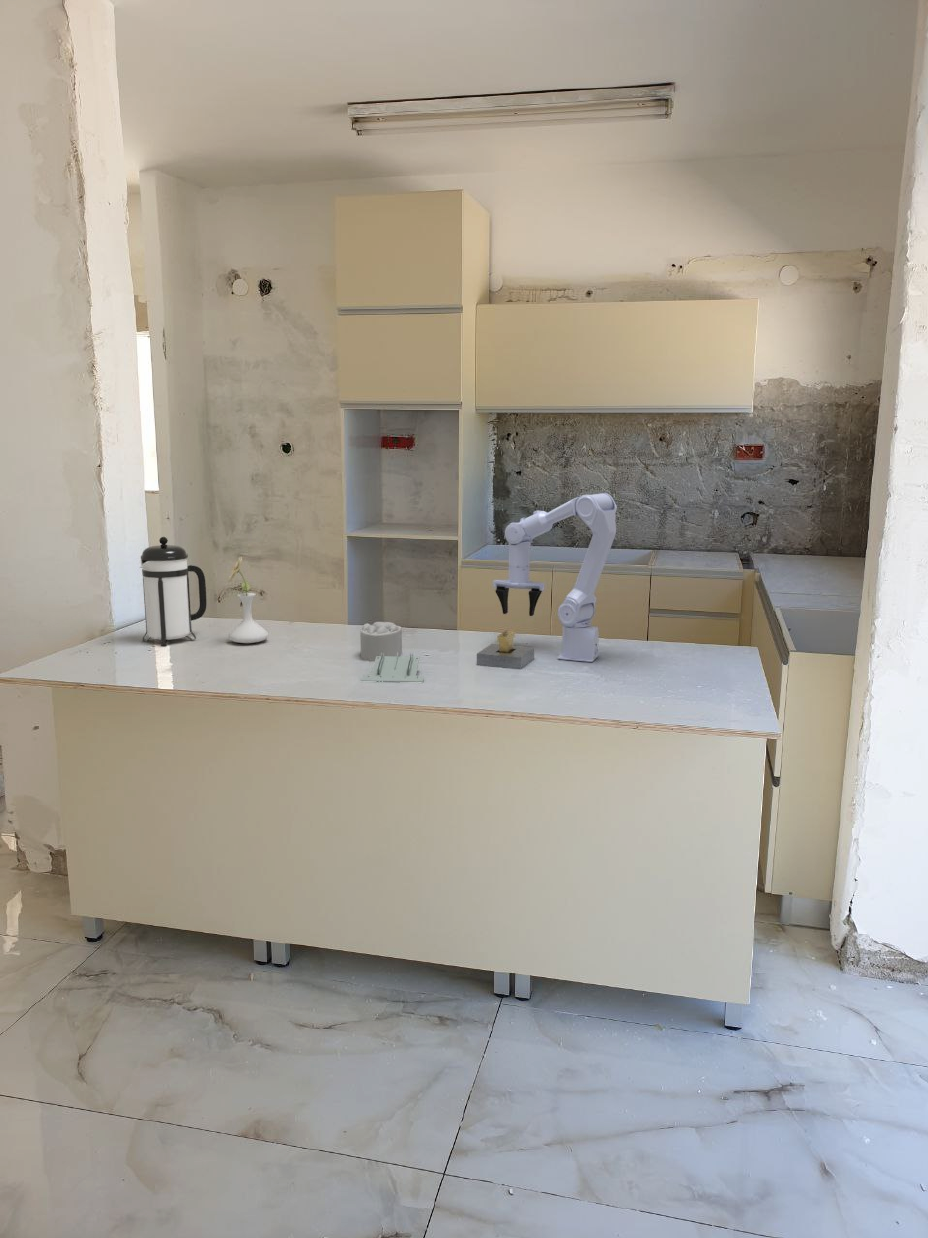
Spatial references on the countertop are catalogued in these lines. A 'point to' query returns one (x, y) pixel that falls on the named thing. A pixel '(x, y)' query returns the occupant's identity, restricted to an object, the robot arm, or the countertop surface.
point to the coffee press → (169, 592)
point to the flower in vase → (246, 616)
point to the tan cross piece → (506, 641)
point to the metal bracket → (394, 669)
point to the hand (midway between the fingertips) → (518, 614)
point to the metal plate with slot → (505, 657)
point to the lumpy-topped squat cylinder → (380, 640)
